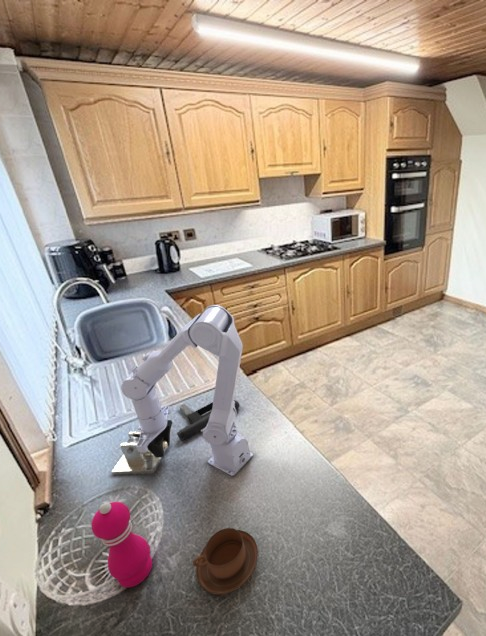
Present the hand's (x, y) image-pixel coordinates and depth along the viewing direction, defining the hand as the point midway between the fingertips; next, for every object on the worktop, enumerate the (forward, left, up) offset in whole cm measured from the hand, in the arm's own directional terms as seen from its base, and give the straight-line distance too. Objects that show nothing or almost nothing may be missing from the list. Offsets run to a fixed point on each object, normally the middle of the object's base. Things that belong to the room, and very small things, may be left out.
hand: (162, 451), depth 94 cm
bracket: (+6, +3, -3) cm, 8 cm away
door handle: (+5, -18, -4) cm, 19 cm away
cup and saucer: (-35, +11, -4) cm, 37 cm away
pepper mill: (-19, +21, -4) cm, 29 cm away
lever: (+3, +2, +1) cm, 4 cm away
